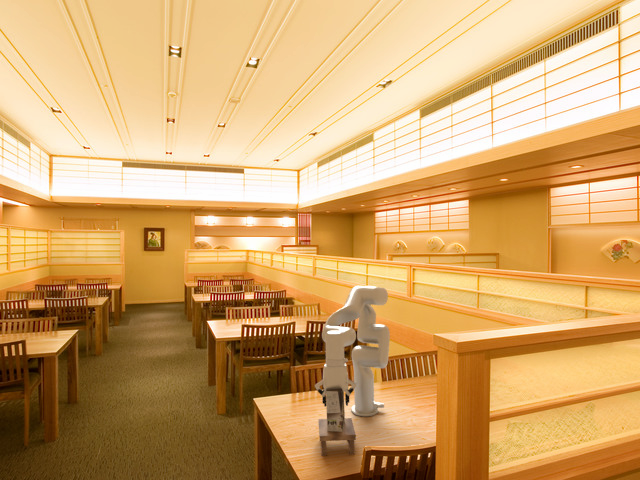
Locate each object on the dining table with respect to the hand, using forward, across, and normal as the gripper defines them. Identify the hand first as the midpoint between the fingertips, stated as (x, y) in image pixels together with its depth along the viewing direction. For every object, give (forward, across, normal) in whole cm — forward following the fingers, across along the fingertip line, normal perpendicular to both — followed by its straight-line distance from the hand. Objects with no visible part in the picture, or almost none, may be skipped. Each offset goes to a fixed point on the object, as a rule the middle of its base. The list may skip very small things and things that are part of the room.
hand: (335, 404), depth 159 cm
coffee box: (+9, 0, 0) cm, 9 cm away
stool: (+17, 0, 0) cm, 17 cm away
